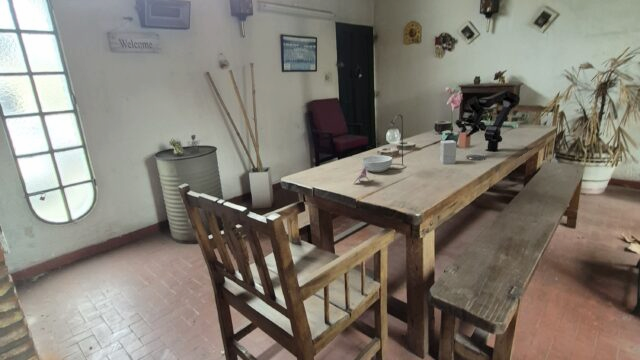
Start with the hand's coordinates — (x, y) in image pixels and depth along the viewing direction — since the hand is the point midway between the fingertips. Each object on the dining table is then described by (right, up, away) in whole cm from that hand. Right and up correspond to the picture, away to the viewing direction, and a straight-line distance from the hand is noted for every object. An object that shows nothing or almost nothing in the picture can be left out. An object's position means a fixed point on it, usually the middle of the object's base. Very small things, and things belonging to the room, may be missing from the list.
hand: (463, 136), depth 204 cm
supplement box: (-12, -16, -5) cm, 21 cm away
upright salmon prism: (+2, -6, +3) cm, 7 cm away
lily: (-65, -28, -32) cm, 78 cm away
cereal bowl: (-54, -21, -12) cm, 60 cm away
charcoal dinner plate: (+7, -13, 0) cm, 15 cm away
